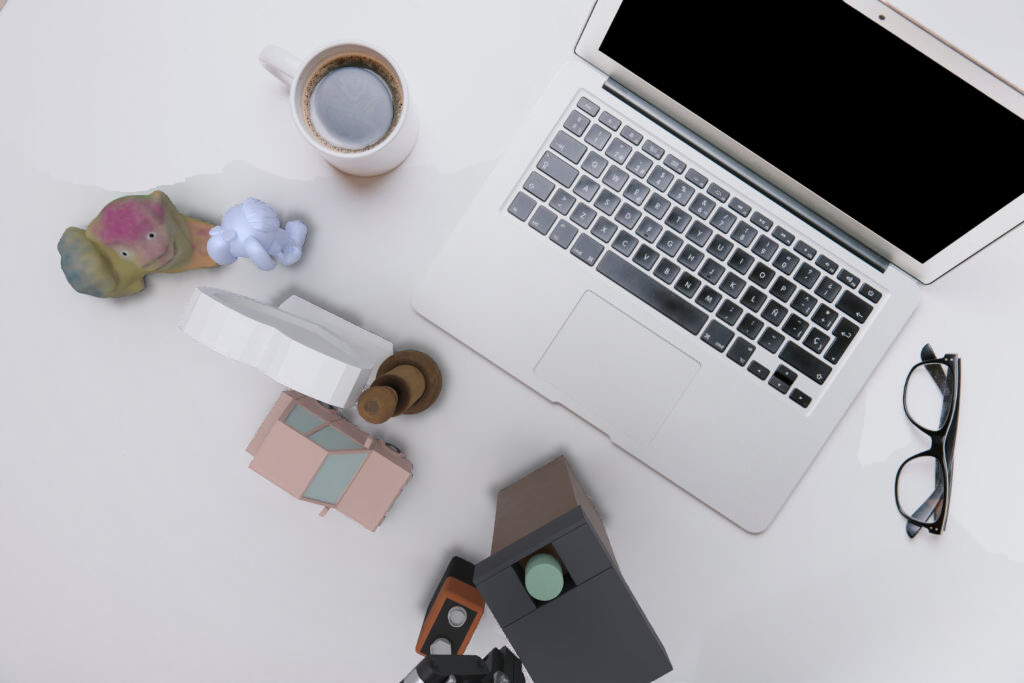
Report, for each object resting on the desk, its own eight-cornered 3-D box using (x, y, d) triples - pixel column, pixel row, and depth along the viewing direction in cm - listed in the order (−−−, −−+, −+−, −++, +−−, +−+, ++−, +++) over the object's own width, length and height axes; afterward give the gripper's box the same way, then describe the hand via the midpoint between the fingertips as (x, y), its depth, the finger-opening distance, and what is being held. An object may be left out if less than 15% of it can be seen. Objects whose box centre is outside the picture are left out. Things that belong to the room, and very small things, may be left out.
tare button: (568, 577, 48) (570, 589, 46) (536, 595, 48) (537, 608, 46) (550, 546, 47) (551, 557, 45) (518, 564, 48) (518, 575, 46)
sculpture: (109, 316, 70) (40, 318, 60) (74, 241, 70) (-1, 231, 60) (235, 259, 70) (187, 252, 60) (200, 183, 69) (146, 163, 59)
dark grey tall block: (622, 545, 71) (674, 670, 47) (549, 587, 71) (562, 731, 47) (562, 444, 70) (584, 517, 46) (489, 486, 71) (472, 580, 47)
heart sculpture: (409, 351, 69) (363, 363, 51) (389, 395, 70) (335, 421, 52) (276, 286, 70) (184, 275, 52) (256, 329, 70) (157, 333, 52)
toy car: (379, 526, 71) (356, 563, 61) (258, 449, 71) (214, 473, 61) (427, 454, 71) (411, 479, 61) (304, 375, 70) (268, 387, 60)
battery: (426, 608, 72) (410, 658, 62) (453, 552, 71) (442, 594, 61) (463, 626, 72) (453, 679, 62) (490, 570, 71) (485, 614, 61)
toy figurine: (318, 215, 69) (276, 197, 57) (311, 277, 70) (267, 272, 58) (253, 206, 69) (196, 186, 57) (245, 267, 70) (188, 260, 58)
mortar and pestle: (373, 402, 70) (321, 437, 52) (387, 343, 70) (340, 357, 52) (434, 417, 70) (404, 457, 52) (448, 358, 70) (423, 377, 52)
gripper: (295, 855, 25) (387, 632, 43) (543, 1087, 26) (535, 772, 43) (432, 720, 25) (469, 550, 42) (682, 958, 25) (617, 693, 43)
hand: (502, 663), depth 43 cm, fingers closed
